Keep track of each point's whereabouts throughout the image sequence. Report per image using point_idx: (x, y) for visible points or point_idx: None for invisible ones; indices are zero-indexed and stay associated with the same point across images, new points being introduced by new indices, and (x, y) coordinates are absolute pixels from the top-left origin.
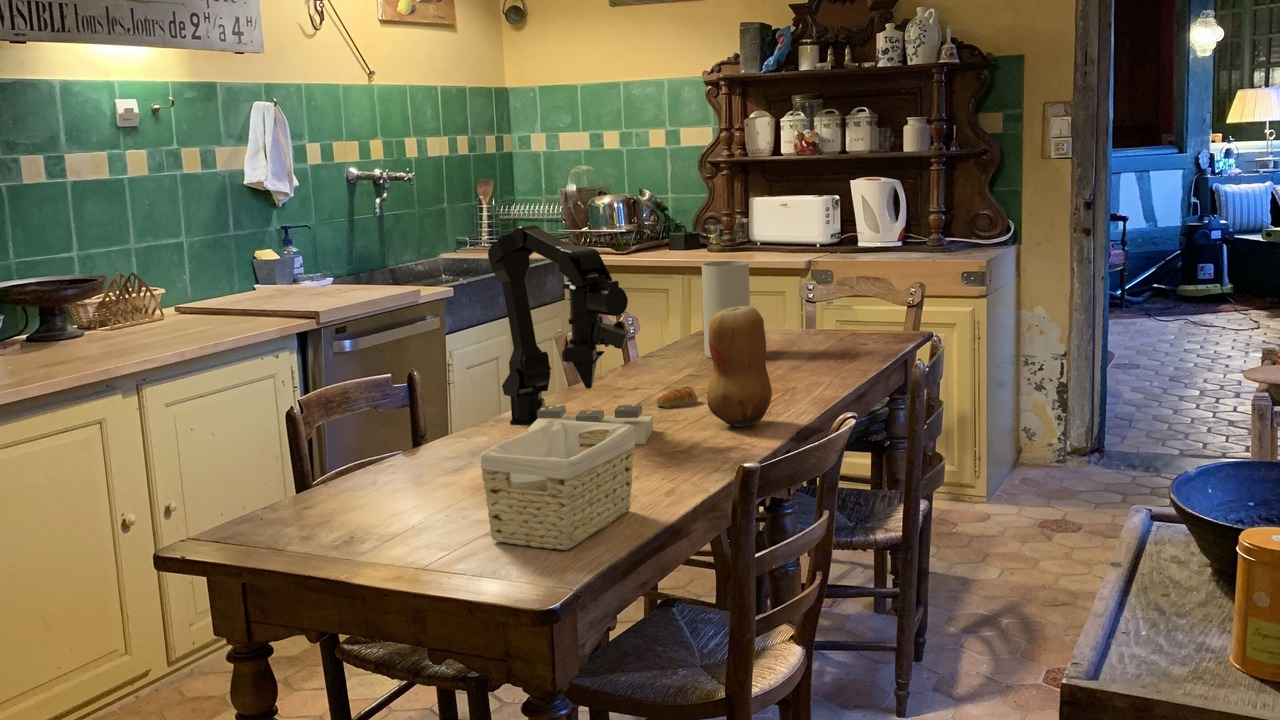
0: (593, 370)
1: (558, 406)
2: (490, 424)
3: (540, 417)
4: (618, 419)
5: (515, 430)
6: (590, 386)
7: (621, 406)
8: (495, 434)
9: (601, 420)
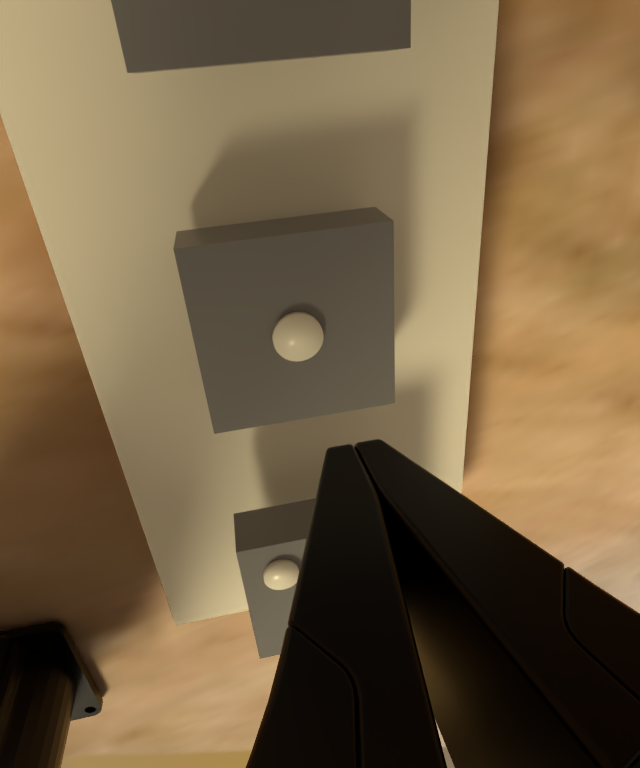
0: (511, 622)
1: (298, 573)
2: (122, 746)
3: None
4: (130, 90)
5: (197, 643)
6: (397, 456)
7: (186, 10)
8: (275, 670)
9: (290, 217)
